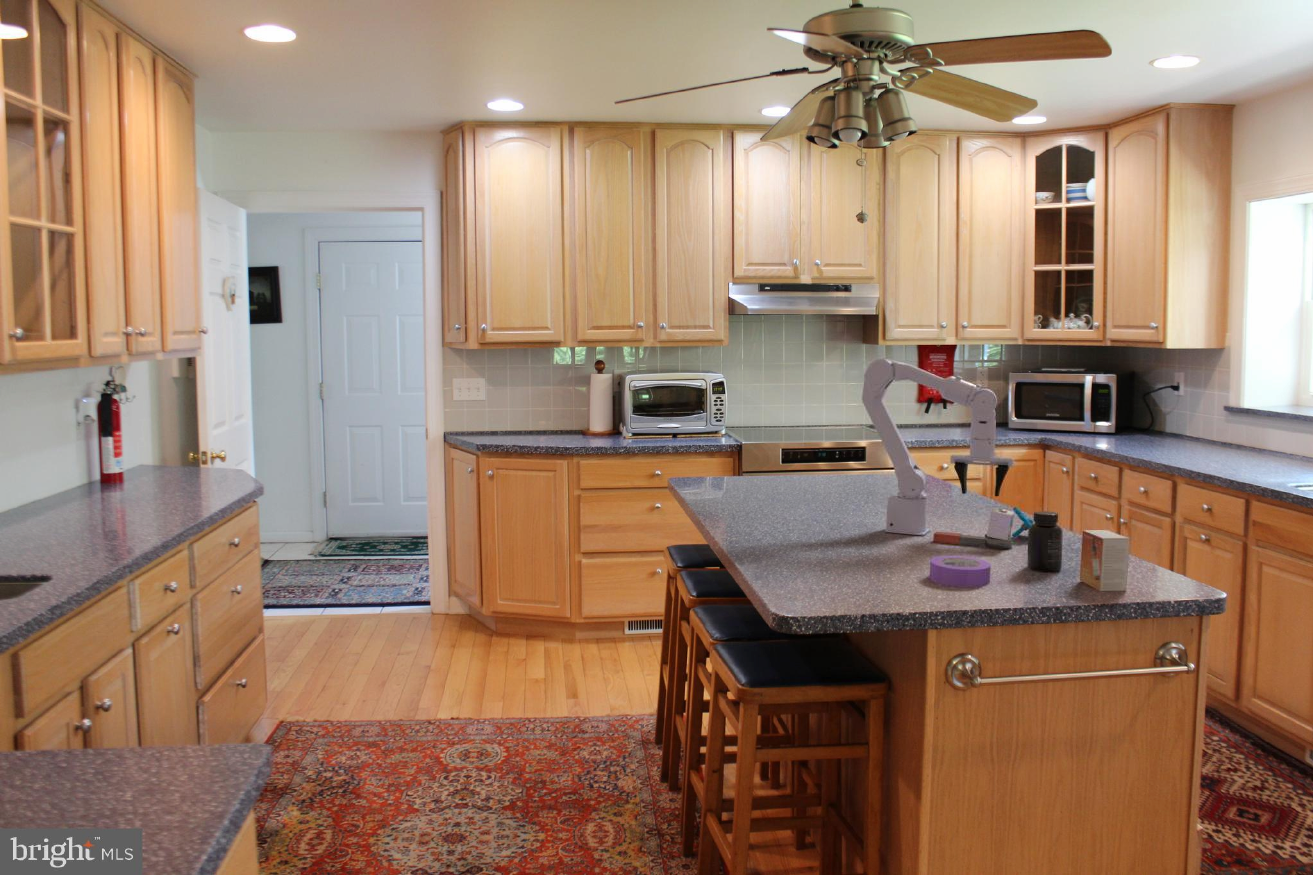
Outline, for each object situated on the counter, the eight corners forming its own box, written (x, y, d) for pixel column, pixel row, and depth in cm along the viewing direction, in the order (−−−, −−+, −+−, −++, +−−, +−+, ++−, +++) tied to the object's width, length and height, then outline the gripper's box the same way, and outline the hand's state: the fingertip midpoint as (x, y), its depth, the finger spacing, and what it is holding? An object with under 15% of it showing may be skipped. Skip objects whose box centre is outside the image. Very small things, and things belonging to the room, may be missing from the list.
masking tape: (1002, 585, 199) (1002, 566, 199) (950, 589, 196) (950, 570, 196) (968, 572, 210) (968, 554, 210) (918, 575, 207) (919, 557, 207)
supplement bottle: (1060, 566, 215) (1063, 511, 214) (1062, 573, 208) (1065, 516, 207) (1026, 564, 217) (1028, 509, 216) (1026, 571, 211) (1029, 514, 209)
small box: (1078, 581, 202) (1081, 529, 201) (1105, 580, 203) (1108, 529, 202) (1099, 591, 194) (1102, 537, 193) (1127, 591, 195) (1130, 537, 194)
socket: (986, 536, 233) (991, 509, 232) (989, 532, 237) (994, 506, 236) (1007, 540, 231) (1012, 513, 230) (1010, 536, 235) (1014, 510, 234)
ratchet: (932, 543, 238) (932, 521, 238) (937, 538, 243) (938, 517, 243) (1009, 550, 230) (1010, 528, 230) (1013, 545, 235) (1014, 523, 235)
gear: (1045, 537, 237) (1015, 505, 240) (1025, 553, 239) (996, 521, 242) (1048, 535, 247) (1019, 504, 250) (1029, 551, 249) (1000, 520, 252)
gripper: (948, 438, 243) (946, 494, 244) (1011, 442, 236) (1009, 499, 238) (954, 436, 249) (952, 490, 251) (1016, 439, 243) (1013, 495, 244)
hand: (980, 494), depth 245 cm, fingers open, 7 cm apart
